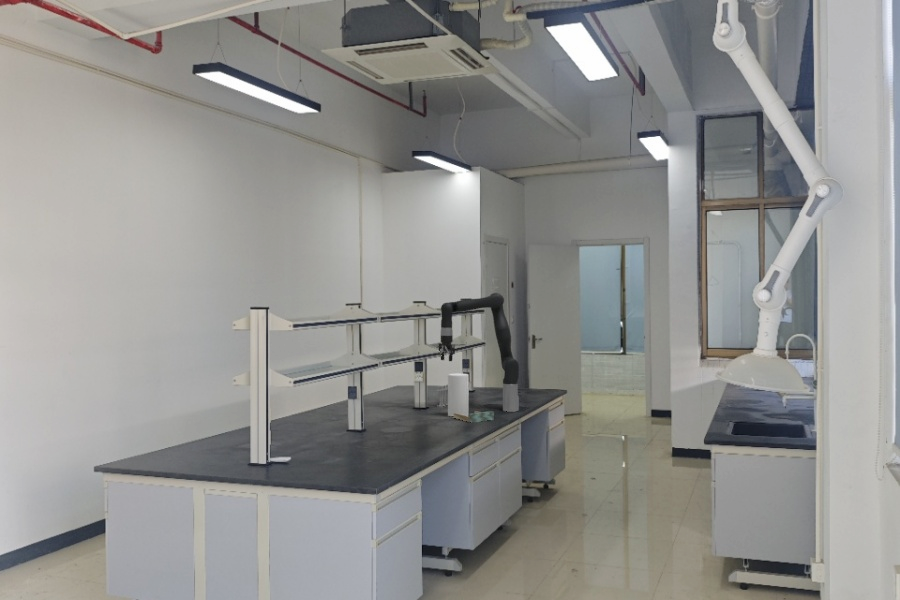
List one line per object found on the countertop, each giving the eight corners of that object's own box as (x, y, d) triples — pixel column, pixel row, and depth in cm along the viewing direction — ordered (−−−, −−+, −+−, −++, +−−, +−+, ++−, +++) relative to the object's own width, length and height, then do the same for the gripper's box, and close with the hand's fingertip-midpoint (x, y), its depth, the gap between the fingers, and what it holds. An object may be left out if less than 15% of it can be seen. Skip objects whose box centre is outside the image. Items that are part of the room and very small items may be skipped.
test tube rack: (442, 407, 504) (442, 387, 504) (436, 407, 506) (436, 386, 506) (457, 402, 527) (457, 382, 527) (451, 402, 529) (452, 382, 528)
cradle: (475, 416, 470) (475, 407, 470) (493, 420, 456) (493, 411, 455) (453, 418, 461) (453, 410, 461) (471, 422, 446) (471, 414, 446)
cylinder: (444, 414, 474) (444, 373, 474) (462, 413, 479) (463, 373, 479) (453, 417, 463) (453, 376, 462) (471, 416, 468) (472, 375, 468)
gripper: (458, 335, 482) (458, 361, 482) (444, 334, 494) (444, 359, 494) (448, 335, 478) (448, 361, 478) (435, 334, 489) (435, 360, 490)
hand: (446, 360), depth 486 cm, fingers open, 8 cm apart
